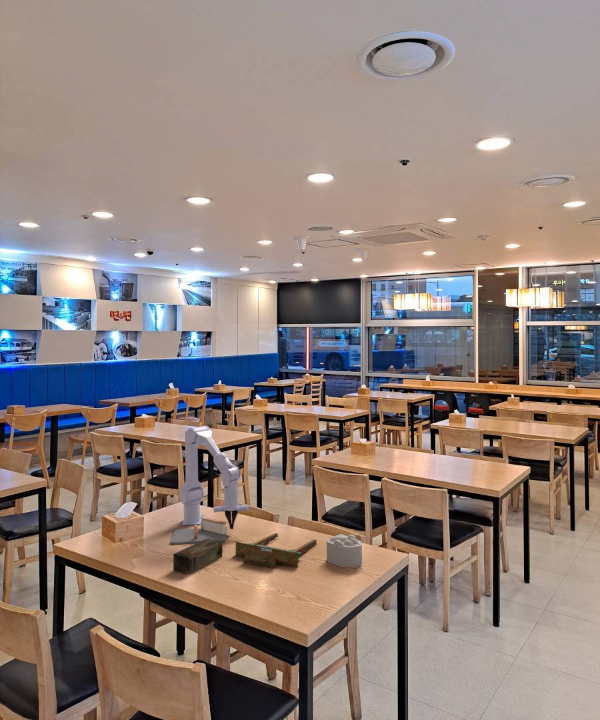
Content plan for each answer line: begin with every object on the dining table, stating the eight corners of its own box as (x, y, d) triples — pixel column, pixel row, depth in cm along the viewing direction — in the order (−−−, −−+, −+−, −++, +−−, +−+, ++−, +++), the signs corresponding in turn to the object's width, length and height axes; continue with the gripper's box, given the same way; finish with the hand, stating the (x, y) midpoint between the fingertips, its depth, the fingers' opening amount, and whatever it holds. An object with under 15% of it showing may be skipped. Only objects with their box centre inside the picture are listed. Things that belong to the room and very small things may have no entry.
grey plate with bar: (175, 531, 232) (174, 515, 232) (227, 528, 234) (226, 513, 234) (169, 544, 217) (169, 527, 216) (225, 541, 219) (225, 525, 218)
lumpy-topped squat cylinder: (342, 552, 205) (341, 529, 205) (369, 562, 196) (368, 538, 195) (323, 560, 198) (322, 536, 198) (350, 570, 188) (349, 545, 188)
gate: (200, 529, 231) (199, 517, 231) (203, 527, 233) (202, 516, 233) (223, 534, 224) (223, 522, 224) (226, 533, 225) (226, 521, 225)
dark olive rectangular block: (224, 557, 203) (223, 539, 203) (189, 576, 187) (188, 557, 186) (207, 553, 207) (207, 536, 207) (171, 571, 191) (171, 553, 190)
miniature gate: (325, 537, 212) (288, 558, 186) (325, 551, 212) (288, 574, 186) (266, 527, 225) (224, 546, 198) (266, 541, 225) (223, 561, 198)
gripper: (212, 499, 223) (213, 532, 223) (248, 497, 224) (249, 530, 224) (214, 494, 230) (214, 526, 230) (248, 493, 231) (249, 525, 231)
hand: (231, 528), depth 228 cm, fingers closed
